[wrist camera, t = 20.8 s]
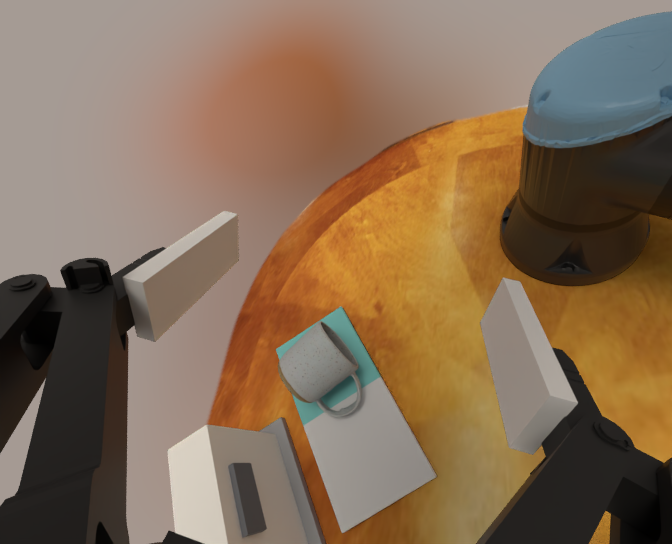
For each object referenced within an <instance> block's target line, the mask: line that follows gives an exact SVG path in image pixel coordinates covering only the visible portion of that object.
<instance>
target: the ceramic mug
mask: <svg viewBox="0 0 672 544" xmlns="http://www.w3.org/2000/svg"><path fill="white" fill-rule="evenodd" d="M358 367H359V366H358V363H357V360H356V358H355V357H354V356H353V354H352V352H351V351H350V349H349V348H348V347H347V345H346V344H345V343H344V342H343V340H342V339H341V338H340V337H339V336H338V335H337V334H336V332H335V331H334V330H332V329H331V328H330V327H329V326H328V325H327V324H325V323H324V322H322V321H319V322H318V323H316V324H315V325H314V326H313V327H312V328H311V329H310V330H309V331H308V332H307V333H306V334H305V335H304V336H303V337H301V338H300V339H299V340H298V341H297V342H296V343H295V344H294V345H293V346H292V347H291V348H290V349H289V350H288V351H287V352H286V353H285V354H284V355H283V356H282V358H281V359H280V361H279V363H278V372H279V375H280V377H281V379H282V381H283V383H284V384H285V386H286V387H287V388H288V390H289V391H290V392H291V393H292V394H293V395H294V396H295V397H296V398H297V399H299V400H300V401H302V402H305V403H312V402H316V403H317V404H318V406H319V407H320V408H321V409H322V410H323V411H324V412H325V413H327V414H328V415H330V416H334V417H344V416H346V415H348V414H350V413H352V412H353V411H354V410H355V409H356V408H357V407H358V406H359V403H360V401H361V397H362V388H361V384H360V381H359V379H358V376H357V375H356V373H355V371H356V370H357V369H358ZM349 376H352V377H353V378H354V381H355V384H356V387H357V400H356V401H355V402H354V403H352V404H351V405H349V406H348V407H346V408H341V409H340V411H335V410H332V409H330V408H329V407H327V406H326V405H325V404H324V403H323V401H322V400H321V397H323V396H324V395H326V394H327V393H328V392H329V391H331V390H332V389H333V388H334V387H335V386H336V385H338V384H339V383H341V382H342V381H343V380H345V379H346V378H347V377H349Z"/></svg>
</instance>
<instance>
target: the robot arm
mask: <svg viewBox="0 0 672 544" xmlns="http://www.w3.org/2000/svg"><path fill="white" fill-rule="evenodd" d="M523 134H524V136H523V147H522V159H521V170H520V183H519V189H518V190H517V192H516V193H515V195H514V196H513V198H512V199H511V201H510V202H509V204H508V205H507V207H506V209H505V211H504V213H503V216H502V219H501V224H500V241H501V245H502V248H503V251H504V253H505V254H506V256H507V257H508V259H509V260H510V261H511V262H512V263H513V264H514V265H515V266H516V267H517V268H518V269H520V270H521V271H523V272H524V273H526V274H528V275H529V276H531V277H534V278H536V279H538V280H541V281H544V282H548V283H552V284H558V285H567V286H579V285H589V284H594V283H599V282H602V281H605V280H608V279H610V278H613V277H615V276H617V275H618V274H620V273H622V272H623V271H625V270H626V269H627V268H628V267H630V266H631V265H632V264H633V262H634V261H635V260H636V259H637V257H638V256H639V254H640V253H641V251H642V250H643V249H644V247H645V245H646V243H647V240H648V237H649V232H650V222H649V214H651V215H656V216H660V217H664V218H667V219H671V220H672V12H663V13H656V14H651V15H645V16H641V17H637V18H633V19H629V20H626V21H623V22H620V23H617V24H614V25H611V26H609V27H606V28H603V29H601V30H599V31H597V32H595V33H593V34H592V35H590V36H588V37H586V38H583V39H581V40H579V41H577V42H575V43H574V44H572V45H571V46H569V47H568V48H566V49H565V50H563V51H562V52H561V53H560V54H558V55H557V56H556V57H555V58H554V59H553V60H552V61H550V62H549V63H548V64H547V65H546V67H545V68H544V69H543V70H542V72H541V73H540V74H539V76H538V77H537V79H536V81H535V83H534V85H533V87H532V90H531V94H530V98H529V104H528V110H527V114H526V116H525V119H524V122H523ZM238 251H239V249H238V214H235V213H231V212H227V211H223V212H221V213H220V214H218V215H217V216H215V217H214V218H212V219H211V220H209V221H208V222H206V223H205V224H203V225H202V226H200V227H199V228H197V229H195V230H194V231H192V232H191V233H189V234H188V235H186V236H185V237H183V238H182V239H181V240H179V241H177V242H176V243H174V244H172V245H171V246H169V247H168V248H164V247H162V248H160V249H156V250H153V251H150V252H149V253H147V254H145V255H144V256H142V257H141V259H138V260H136V261H134V262H133V264H132V263H131V264H130V265H128V266H126V267H125V268H123V269H122V270H120V271H118V272H117V273H115V274H114V275H112V276H111V273H110V269H109V265H108V263H107V261H105V260H103V259H98V258H85V259H79V260H75V261H73V262H70V263H68V264H66V265H65V266H64V267H63V268H62V269H61V270H60V271H61V274H62V277H63V279H64V282H65V285H66V288H56V287H55V288H54V287H50V285H49V282H48V280H47V278H46V277H44V276H42V275H36V274H29V275H20V276H16V277H13V278H11V279H8V280H6V281H4V282H2V283H1V284H0V453H1V451H2V450H3V448H4V446H5V445H6V443H7V441H8V440H9V438H10V436H11V435H12V433H13V431H14V430H15V428H16V426H17V425H18V423H19V421H20V420H21V418H22V416H23V415H24V413H25V411H26V410H27V408H28V406H29V405H30V403H31V401H32V400H33V398H34V397H35V395H36V393H37V391H38V390H39V388H40V387H41V385H42V383H43V382H44V380H45V378H46V381H45V385H44V389H43V393H42V397H41V402H40V405H39V409H38V414H37V417H36V421H35V425H34V429H33V434H32V438H31V442H30V446H29V450H28V454H27V458H26V462H25V466H24V470H23V474H22V478H21V482H20V486H19V489H18V491H17V493H16V494H15V496H13V497H10V498H8V499H6V500H5V501H4V502H3V504H2V505H1V506H0V544H129V536H128V530H127V522H126V477H127V475H126V474H127V399H128V398H127V397H128V396H127V395H128V394H127V393H128V335H127V331H128V330H129V329H130V328H131V327H133V326H135V329H136V333H137V336H138V337H140V338H144V339H147V340H151V341H154V342H156V341H157V340H158V339H159V338H160V337H161V336H162V335H163V334H164V333H165V332H166V331H167V330H168V329H169V328H170V327H171V326H172V325H173V324H174V323H175V322H176V321H177V320H178V319H179V318H180V317H181V316H182V315H183V314H184V313H185V312H186V311H187V310H188V309H189V308H190V307H192V305H194V304H195V303H196V302H197V301H198V300H199V299H200V298H201V297H202V296H203V295H204V294H205V293H206V292H207V291H208V290H209V289H210V288H211V287H212V286H213V285H214V284H215V283H216V282H217V281H218V280H219V279H220V278H221V277H222V276H223V275H224V274H225V273H226V272H227V271H228V270H229V269H231V267H233V266H234V264H236V263H237V262H238V261H239V252H238ZM480 324H481V329H482V333H483V337H484V342H485V346H486V350H487V355H488V359H489V363H490V368H491V372H492V376H493V381H494V385H495V389H496V394H497V398H498V402H499V407H500V411H501V415H502V419H503V424H504V428H505V432H506V437H507V441H508V445H509V448H512V449H515V450H518V451H522V452H525V453H528V454H532V455H533V454H534V453H535V452H536V451H537V449H538V448H539V447H540V446H541V445H542V446H543V449H544V452H545V455H546V457H545V458H544V459H543V460H542V461H541V463H540V464H539V465H538V466H537V467H536V468H535V469H534V470H533V471H532V472H531V473H530V476H529V478H528V479H527V480H526V481H525V483H524V484H523V485H522V486H521V488H520V489H519V490H518V491H517V493H516V494H515V495H514V497H513V498H512V499H511V500H510V502H509V503H508V504H507V505H506V507H505V508H504V509H503V510H502V512H501V513H500V514H499V515H498V517H497V518H496V519H495V520H494V522H493V523H492V524H491V525H490V527H489V528H488V529H487V530H486V532H485V533H484V534H483V535H482V537H481V538H480V539H479V540H478V542H477V543H476V544H589V542H590V540H591V538H592V536H593V534H594V532H595V530H596V528H597V526H598V524H599V522H600V520H601V518H602V516H603V514H604V513H605V511H608V512H609V513H611V523H610V543H609V544H672V458H670V459H669V460H667V461H666V462H665V463H663V462H661V461H659V460H657V459H655V458H653V457H651V456H649V455H647V454H646V453H644V452H642V451H640V450H638V449H636V448H635V447H634V444H633V442H632V440H631V439H630V437H629V436H628V435H627V434H626V433H625V431H624V430H622V429H621V428H620V427H619V426H618V425H616V424H615V423H614V422H612V421H610V420H609V419H607V418H605V417H603V416H602V415H601V413H600V411H599V409H598V407H597V405H596V404H595V402H594V400H593V398H592V396H591V394H590V392H589V390H588V388H587V387H586V385H585V384H584V381H583V379H582V377H581V375H579V371H578V370H577V368H576V366H575V364H574V362H573V361H572V360H571V359H570V358H569V357H568V356H567V355H566V354H565V352H564V351H563V350H560V349H556V348H552V347H551V345H550V343H549V341H548V339H547V337H546V335H545V333H544V330H543V328H542V326H541V324H540V322H539V320H538V318H537V316H536V314H535V312H534V310H533V307H532V305H531V303H530V301H529V299H528V297H527V295H526V293H525V291H524V289H523V286H522V284H521V282H519V281H515V280H511V279H507V278H503V279H502V281H501V283H500V285H499V287H498V288H497V290H496V292H495V294H494V296H493V298H492V300H491V302H490V304H489V306H488V308H487V310H486V312H485V314H484V316H483V318H482V320H481V322H480ZM151 544H204V543H201V542H198V541H196V540H193V539H190V538H188V537H185V536H182V535H180V534H177V533H174V532H171V531H168V533H167V535H166V537H165V539H164V540H163V542H159V543H151Z"/></svg>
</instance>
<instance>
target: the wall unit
mask: <svg viewBox="0 0 672 544" xmlns="http://www.w3.org/2000/svg"><path fill="white" fill-rule="evenodd" d="M168 461H169V472H170V482H171V493H172V503H173V514H174V524H175V533H177V534H180V535H182V536H185V537H188V538H190V539H193V540H196V541H198V542H201V543H204V544H326V542H325V539H324V536H323V533H322V530H321V527H320V524H319V521H318V518H317V515H316V512H315V509H314V506H313V503H312V500H311V497H310V494H309V490H308V487H307V484H306V481H305V478H304V475H303V472H302V469H301V466H300V463H299V460H298V457H297V454H296V451H295V448H294V445H293V442H292V439H291V436H290V433H289V430H288V427H287V424H286V421H285V418H282V417H281V418H279V419H278V420H276V421H274V422H273V423H271V424H270V425H268V426H267V427H265V428H263V429H262V430H260V431H259V432H257V431H250V430H243V429H236V428H228V427H221V426H214V425H205V426H204V427H202V428H201V429H199V430H198V431H196V432H195V433H193V434H192V435H190V436H188V437H187V438H185V439H184V440H182V441H181V442H179V443H178V444H176V445H175V446H173V447H172V448H170V449H169V450H168Z"/></svg>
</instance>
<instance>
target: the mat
mask: <svg viewBox="0 0 672 544" xmlns="http://www.w3.org/2000/svg"><path fill="white" fill-rule="evenodd" d="M320 321H322V322H324V323H325V324H327V325H328V326H329V327H330V328H331V329H332V330H334V331H335V332H336V334H337V335H338V336H339V337H340V338H341V339H342V340H343V342H344V343H345V344H346V345H347V347H348V348H349V349H350V351H351V352H352V354H353V356H354V357H355V358H356V360H357V363H358V366H359V367H358V369H357V370H356V371H355V373H356V375H357V376H358V379H359V381H360V384H361V388H362V397H361V401H360V403H359V406H358V407H357V408H356V409H355V410H354V411H353V412H352V413H350V414H348V415H346V416H344V417H334V416H330V415H328V414H327V413H325V412H324V411H323V410H322V409H321V408H320V407H319V406H318V404H317V403H316V402H312V403H305V402H302V401H300V400H299V399H297V398H296V397H295V396H294V395H293V394H292V396H293V398H294V401H295V404H296V407H297V410H298V412H299V415H300V418H301V421H302V423H303V426H304V429H305V432H306V435H307V437H308V440H309V443H310V446H311V448H312V451H313V454H314V457H315V460H316V462H317V465H318V468H319V471H320V473H321V476H322V479H323V482H324V485H325V487H326V490H327V493H328V496H329V498H330V501H331V504H332V507H333V510H334V512H335V515H336V518H337V521H338V524H339V526H340V529H341V532H342V533H344V532H346V531H348V530H349V529H351V528H353V527H354V526H356V525H357V524H359V523H361V522H362V521H364V520H366V519H367V518H369V517H371V516H372V515H374V514H376V513H377V512H379V511H381V510H382V509H384V508H386V507H387V506H389V505H391V504H392V503H394V502H396V501H397V500H399V499H401V498H402V497H404V496H406V495H407V494H409V493H411V492H412V491H414V490H416V489H417V488H419V487H421V486H422V485H424V484H426V483H427V482H429V481H431V480H432V479H434V478H435V477H437V475H436V473H435V471H434V469H433V468H432V466H431V464H430V462H429V461H428V459H427V457H426V455H425V453H424V452H423V450H422V448H421V446H420V444H419V443H418V441H417V439H416V437H415V436H414V434H413V432H412V430H411V428H410V427H409V425H408V423H407V421H406V420H405V418H404V416H403V414H402V412H401V411H400V409H399V407H398V405H397V404H396V402H395V400H394V398H393V396H392V395H391V393H390V391H389V389H388V388H387V386H386V384H385V382H384V380H383V379H382V377H381V375H380V373H379V371H378V370H377V368H376V366H375V364H374V363H373V361H372V359H371V357H370V355H369V354H368V352H367V350H366V348H365V347H364V345H363V343H362V341H361V339H360V338H359V336H358V334H357V332H356V331H355V329H354V327H353V325H352V323H351V322H350V320H349V318H348V316H347V315H346V313H345V311H344V309H343V308H342V307H339V308H338V309H336V310H335V311H333V312H332V313H330V314H329V315H327V316H326V317H324V318H323V319H321V320H320ZM318 322H319V321H318ZM318 322H317V323H318ZM315 324H316V323H315ZM315 324H314V325H315ZM314 325H312V326H311V327H309V328H308V329H306V330H305V331H303V332H302V333H300V334H298V335H297V336H295V337H294V338H292V339H291V340H289V341H288V342H286V343H285V344H283V345H282V346H280V347H279V348H277V349H276V351H277V354H278V357H279V359H281V358H282V356H283V355H284V354H285V353H286V352H287V351H288V350H289V349H290V348H291V347H292V346H293V345H294V344H295V343H296V342H297V341H298V340H299V339H300V338H301V337H303V336H304V335H305V334H306V333H307V332H308V331H309V330H310V329H311V328H312V327H313V326H314ZM321 400H322V401H323V403H324V404H325V405H326V406H327V407H329V408H330V409H332V410H335V411H340V409H341V408H346V407H348V406H349V405H351V404H352V403H354V402H355V401H356V400H357V387H356V384H355V381H354V378H353V377H352V376H349V377H347V378H346V379H345V380H343V381H342V382H341V383H339V384H338V385H336V386H335V387H334V388H333V389H332V390H331V391H329V392H328V393H327V394H326V395H324V396H323V397H321Z"/></svg>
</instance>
